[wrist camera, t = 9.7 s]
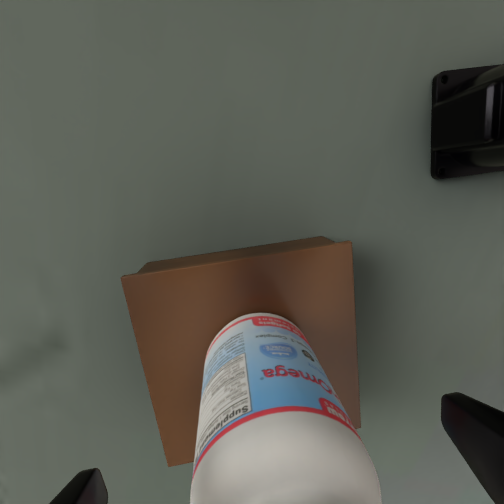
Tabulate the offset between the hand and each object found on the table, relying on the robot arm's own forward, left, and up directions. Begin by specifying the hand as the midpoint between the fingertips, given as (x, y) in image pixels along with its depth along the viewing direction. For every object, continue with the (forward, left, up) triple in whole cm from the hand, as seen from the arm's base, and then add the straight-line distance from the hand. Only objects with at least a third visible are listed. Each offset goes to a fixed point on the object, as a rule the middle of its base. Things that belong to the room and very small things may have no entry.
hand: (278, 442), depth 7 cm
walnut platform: (0, +4, -13) cm, 13 cm away
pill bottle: (0, +3, -9) cm, 10 cm away
